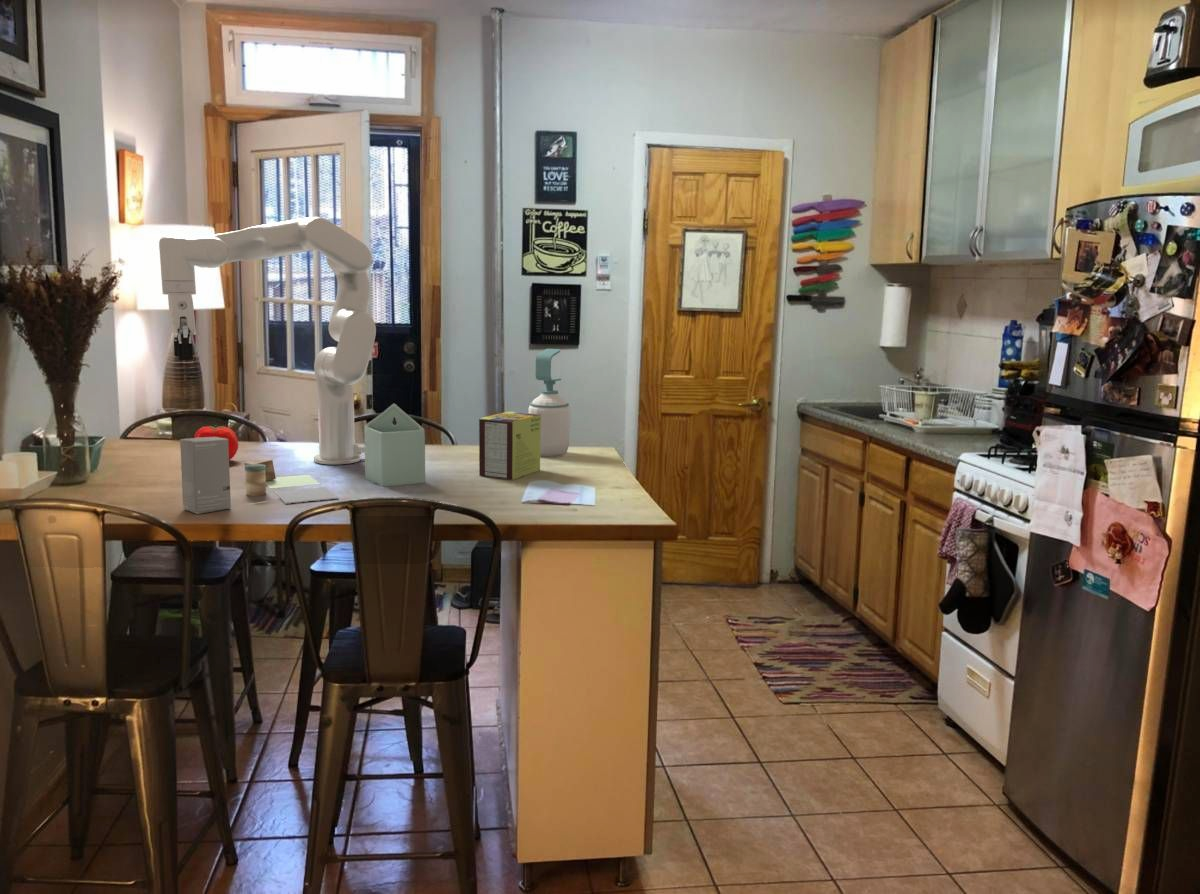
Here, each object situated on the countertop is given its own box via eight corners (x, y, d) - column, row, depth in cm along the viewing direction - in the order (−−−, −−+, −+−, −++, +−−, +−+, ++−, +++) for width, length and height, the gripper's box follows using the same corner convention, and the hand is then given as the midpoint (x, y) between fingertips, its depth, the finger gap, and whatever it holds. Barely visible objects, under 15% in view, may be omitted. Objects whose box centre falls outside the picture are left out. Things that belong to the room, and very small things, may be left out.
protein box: (540, 470, 258) (541, 414, 255) (512, 480, 244) (512, 421, 241) (507, 466, 262) (508, 410, 259) (477, 476, 248) (478, 417, 246)
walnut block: (266, 476, 238) (263, 457, 237) (275, 479, 235) (272, 459, 234) (247, 481, 235) (244, 462, 234) (256, 484, 232) (253, 464, 230)
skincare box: (196, 515, 202) (192, 442, 199) (181, 509, 207) (177, 438, 204) (233, 508, 208) (230, 438, 206) (218, 503, 213) (214, 433, 210)
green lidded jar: (264, 492, 224) (263, 463, 223) (268, 496, 221) (267, 467, 219) (244, 494, 222) (242, 465, 221) (247, 498, 218) (246, 468, 217)
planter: (351, 484, 235) (350, 405, 232) (366, 477, 243) (364, 401, 239) (413, 488, 232) (412, 409, 228) (425, 482, 240) (425, 405, 236)
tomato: (183, 463, 254) (181, 426, 253) (215, 456, 265) (213, 420, 263) (217, 468, 250) (215, 429, 248) (248, 460, 261) (247, 424, 259)
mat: (308, 476, 243) (308, 474, 243) (320, 485, 233) (320, 483, 233) (260, 480, 237) (260, 478, 237) (270, 490, 227) (270, 488, 227)
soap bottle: (577, 453, 283) (579, 349, 277) (553, 460, 272) (555, 351, 267) (543, 449, 289) (545, 347, 283) (519, 454, 279) (520, 349, 273)
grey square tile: (325, 488, 229) (324, 487, 229) (338, 499, 219) (338, 497, 219) (273, 493, 223) (273, 491, 223) (285, 504, 213) (285, 502, 213)
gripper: (199, 289, 225) (204, 360, 229) (191, 287, 240) (196, 354, 243) (165, 289, 222) (170, 362, 225) (159, 287, 237) (164, 355, 240)
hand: (183, 358), depth 234 cm, fingers open, 9 cm apart
